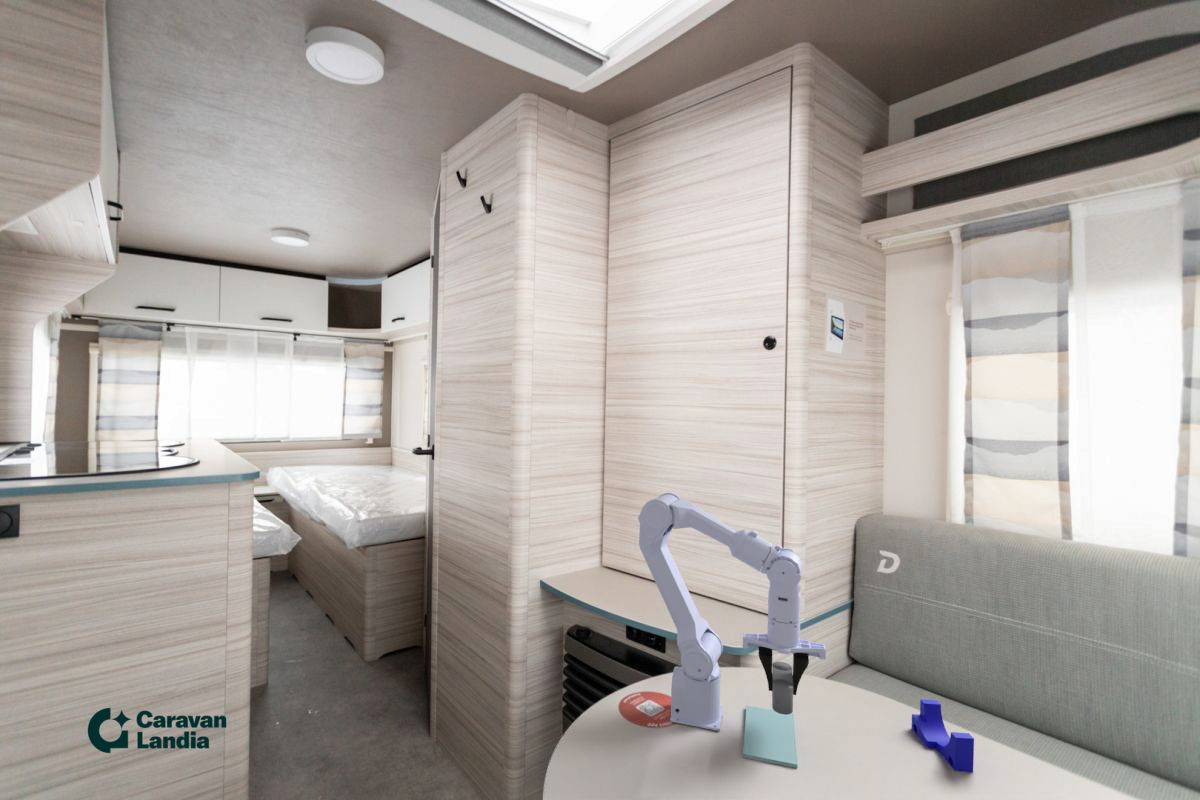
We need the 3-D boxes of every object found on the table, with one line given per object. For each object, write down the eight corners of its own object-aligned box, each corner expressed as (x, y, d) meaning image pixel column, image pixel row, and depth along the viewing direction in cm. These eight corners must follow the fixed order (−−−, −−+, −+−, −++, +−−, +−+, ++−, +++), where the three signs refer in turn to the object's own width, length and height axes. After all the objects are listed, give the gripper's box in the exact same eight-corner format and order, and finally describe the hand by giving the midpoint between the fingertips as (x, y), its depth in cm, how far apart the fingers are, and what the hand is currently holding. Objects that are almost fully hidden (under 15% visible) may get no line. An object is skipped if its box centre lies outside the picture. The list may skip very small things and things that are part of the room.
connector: (772, 712, 98) (772, 687, 98) (771, 679, 110) (772, 656, 110) (793, 716, 97) (793, 690, 97) (790, 682, 109) (790, 659, 109)
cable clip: (911, 729, 107) (912, 698, 107) (935, 731, 106) (936, 700, 106) (945, 771, 95) (946, 736, 95) (973, 773, 94) (974, 738, 94)
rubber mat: (743, 757, 97) (743, 753, 97) (746, 708, 112) (746, 705, 112) (797, 768, 94) (797, 764, 94) (793, 716, 110) (793, 713, 110)
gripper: (742, 620, 101) (740, 694, 101) (828, 631, 97) (826, 708, 97) (744, 606, 108) (742, 675, 108) (824, 616, 103) (822, 688, 104)
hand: (782, 690), depth 103 cm, fingers closed on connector, 3 cm apart
